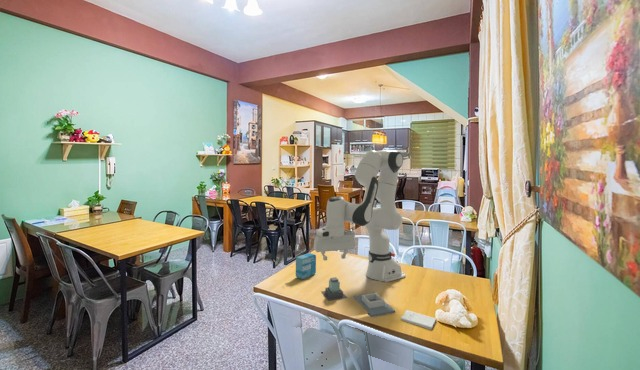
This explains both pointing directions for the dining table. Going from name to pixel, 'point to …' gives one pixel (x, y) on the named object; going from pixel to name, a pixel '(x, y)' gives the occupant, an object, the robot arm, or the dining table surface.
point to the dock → (374, 304)
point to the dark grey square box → (333, 295)
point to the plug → (334, 285)
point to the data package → (305, 265)
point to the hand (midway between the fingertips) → (334, 259)
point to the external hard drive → (418, 319)
